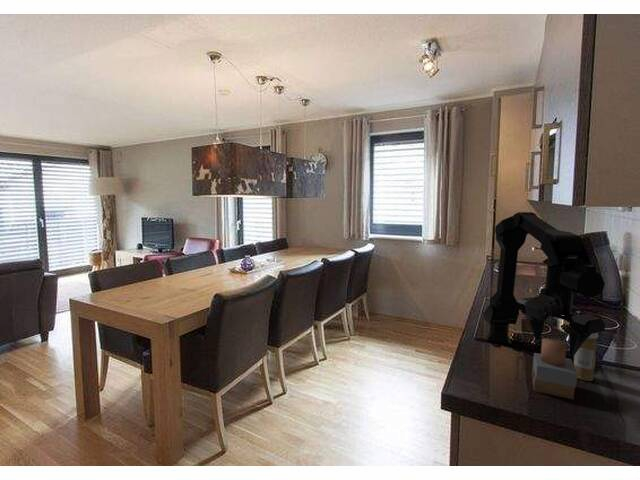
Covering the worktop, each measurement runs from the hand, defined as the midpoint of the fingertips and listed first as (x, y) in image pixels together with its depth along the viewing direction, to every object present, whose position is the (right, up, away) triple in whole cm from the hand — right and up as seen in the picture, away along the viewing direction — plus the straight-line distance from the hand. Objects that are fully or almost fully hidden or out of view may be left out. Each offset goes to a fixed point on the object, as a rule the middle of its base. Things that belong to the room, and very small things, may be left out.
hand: (554, 347), depth 88 cm
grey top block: (0, -7, 0) cm, 7 cm away
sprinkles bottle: (+11, -10, +6) cm, 16 cm away
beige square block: (0, -11, +1) cm, 11 cm away
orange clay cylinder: (0, -4, 0) cm, 4 cm away
